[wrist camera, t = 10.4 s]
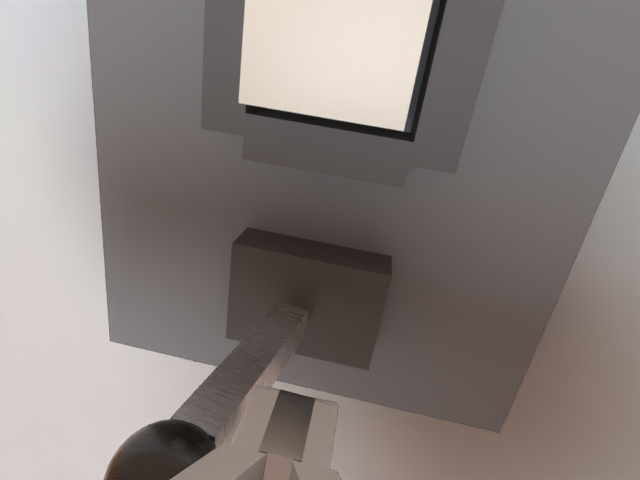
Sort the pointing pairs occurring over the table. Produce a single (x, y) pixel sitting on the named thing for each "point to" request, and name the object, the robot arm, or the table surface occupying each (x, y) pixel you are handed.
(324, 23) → the cream button
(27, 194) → the table surface
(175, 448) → the toggle lever
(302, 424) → the robot arm
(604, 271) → the table surface
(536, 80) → the control panel
